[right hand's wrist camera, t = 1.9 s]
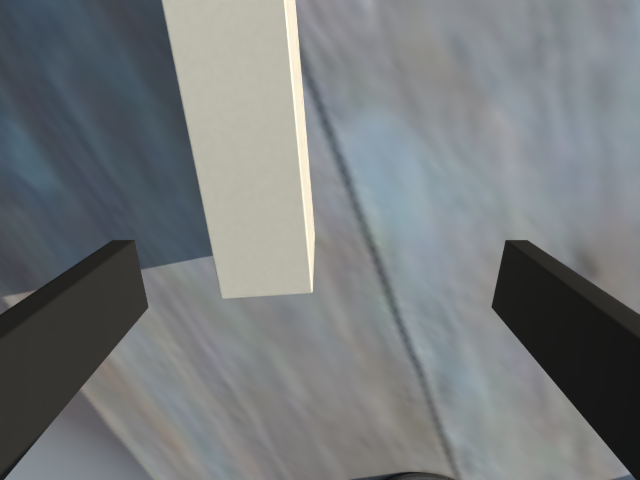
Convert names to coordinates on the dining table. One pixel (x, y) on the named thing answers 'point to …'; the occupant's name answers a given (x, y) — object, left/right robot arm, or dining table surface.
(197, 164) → the bar
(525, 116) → the dining table surface
